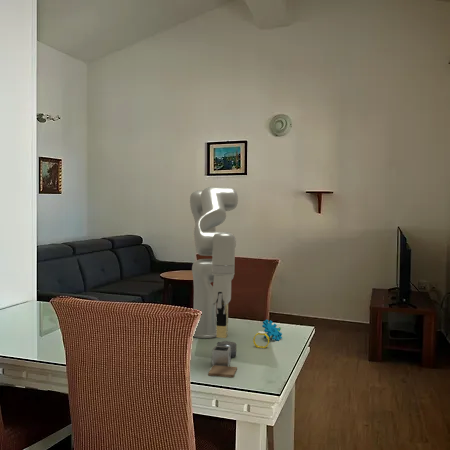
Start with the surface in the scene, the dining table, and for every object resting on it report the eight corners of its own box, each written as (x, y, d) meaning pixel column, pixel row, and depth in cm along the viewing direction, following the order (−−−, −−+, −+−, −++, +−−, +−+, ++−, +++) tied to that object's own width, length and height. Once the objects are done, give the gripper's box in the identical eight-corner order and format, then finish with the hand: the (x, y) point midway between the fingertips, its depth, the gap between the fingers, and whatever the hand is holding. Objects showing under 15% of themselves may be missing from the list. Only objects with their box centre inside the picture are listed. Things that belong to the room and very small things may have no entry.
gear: (272, 339, 191) (260, 318, 196) (263, 348, 194) (251, 327, 199) (288, 338, 199) (276, 318, 205) (279, 346, 202) (267, 326, 207)
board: (208, 375, 153) (208, 373, 153) (213, 367, 161) (213, 365, 160) (233, 377, 151) (233, 375, 151) (237, 369, 159) (237, 367, 159)
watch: (268, 347, 187) (270, 332, 186) (267, 349, 184) (269, 334, 184) (253, 345, 188) (254, 330, 188) (252, 347, 185) (253, 331, 185)
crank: (218, 351, 178) (218, 337, 178) (237, 352, 177) (237, 339, 177) (209, 365, 162) (209, 350, 162) (230, 366, 161) (230, 351, 161)
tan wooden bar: (216, 337, 162) (217, 301, 162) (218, 335, 165) (218, 299, 165) (225, 338, 162) (226, 302, 162) (227, 335, 165) (228, 300, 165)
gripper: (216, 267, 172) (216, 319, 172) (207, 272, 156) (206, 329, 156) (237, 268, 171) (237, 320, 171) (230, 273, 154) (229, 330, 155)
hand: (222, 324), depth 163 cm, fingers closed on tan wooden bar, 3 cm apart
